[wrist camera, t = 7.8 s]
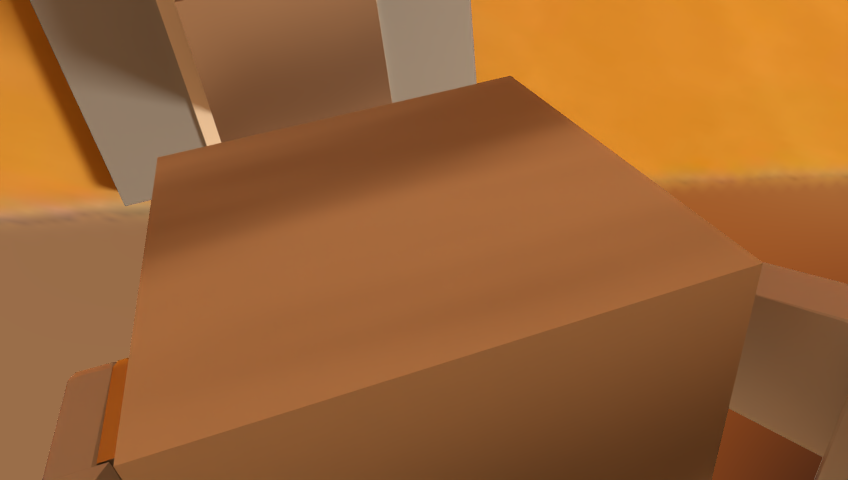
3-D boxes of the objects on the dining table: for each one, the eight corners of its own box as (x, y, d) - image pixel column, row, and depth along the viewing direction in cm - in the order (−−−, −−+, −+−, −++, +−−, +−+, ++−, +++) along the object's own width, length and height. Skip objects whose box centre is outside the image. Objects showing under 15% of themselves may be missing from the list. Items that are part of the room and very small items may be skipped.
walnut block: (179, -32, 19) (174, 2, 15) (336, -60, 20) (370, -35, 16) (227, 118, 22) (233, 179, 18) (363, 87, 23) (397, 139, 19)
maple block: (157, 157, 8) (113, 465, 4) (510, 76, 9) (763, 262, 5) (260, 410, 11) (294, 740, 7) (520, 329, 12) (687, 580, 8)
